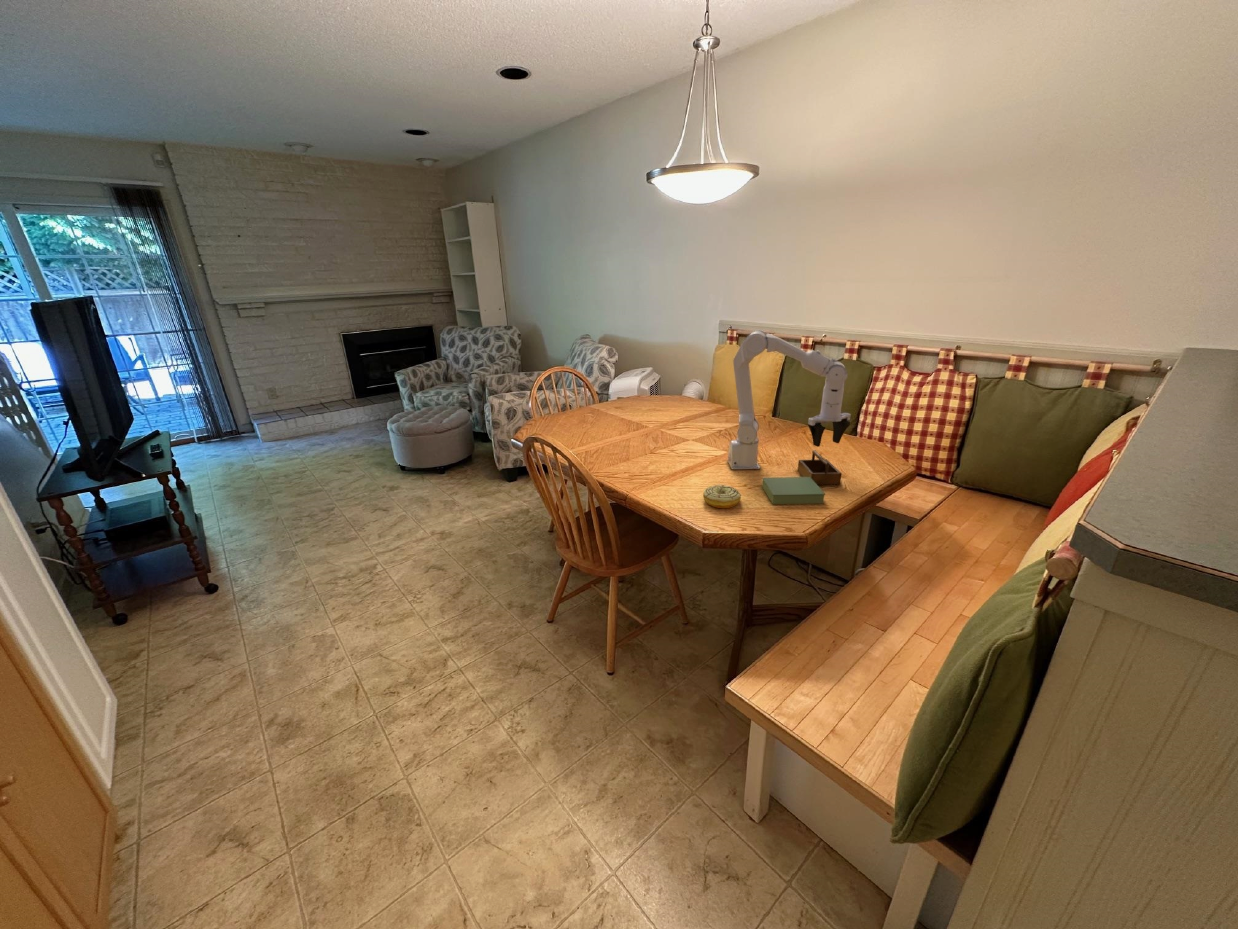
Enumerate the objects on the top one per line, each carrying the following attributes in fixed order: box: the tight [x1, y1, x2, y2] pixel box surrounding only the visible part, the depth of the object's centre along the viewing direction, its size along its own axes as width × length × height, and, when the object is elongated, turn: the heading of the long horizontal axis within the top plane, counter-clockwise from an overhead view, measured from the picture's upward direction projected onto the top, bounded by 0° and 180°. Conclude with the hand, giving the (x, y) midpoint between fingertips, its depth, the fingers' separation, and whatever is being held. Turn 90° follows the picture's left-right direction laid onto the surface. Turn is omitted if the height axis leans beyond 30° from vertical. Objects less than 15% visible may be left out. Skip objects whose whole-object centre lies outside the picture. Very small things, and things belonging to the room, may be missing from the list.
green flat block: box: [761, 476, 826, 505], centre depth 140 cm, size 14×12×3 cm
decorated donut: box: [702, 484, 742, 509], centre depth 136 cm, size 10×11×4 cm
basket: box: [797, 449, 843, 487], centre depth 150 cm, size 9×12×7 cm
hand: (826, 444), depth 152 cm, fingers open, 7 cm apart
